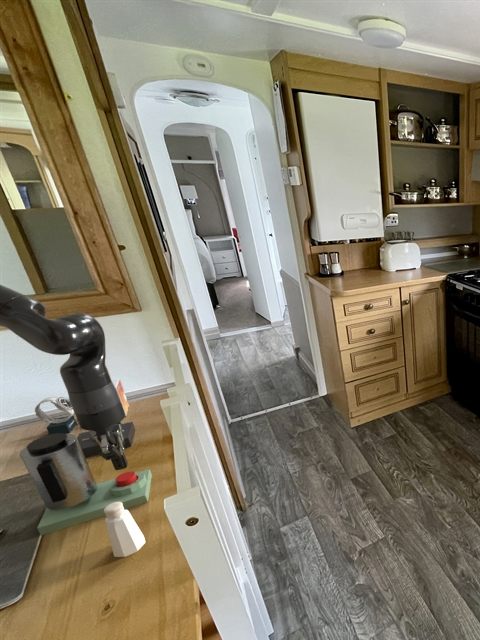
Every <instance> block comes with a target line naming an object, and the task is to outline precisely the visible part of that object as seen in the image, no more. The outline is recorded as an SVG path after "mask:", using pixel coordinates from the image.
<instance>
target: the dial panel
mask: <svg viewBox="0 0 480 640" xmlns="http://www.w3.org/2000/svg"><path fill="white" fill-rule="evenodd" d="M121 426H122V432H123V438H124V442H125V443H124V445H123V447H124V449H126V448H131V447H132V446H133V441H134V437H135V433H136V427H135V425H134V421H130V422H124V423H122V424H121ZM76 437H77V439H78V442H79V444H80V447H81V449H82V451H83V454H84V456H85V458H86V459H87V458H90V457H94V456H98V455H99V454H98V452H97V448H100V445H99V443H98V442H96V440H93V439H92V437H91V435H90V432H89V430H87V431H85V432H80V433H78V435H77V436H76ZM130 446H131V447H130ZM99 456H100V455H99Z"/></svg>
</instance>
